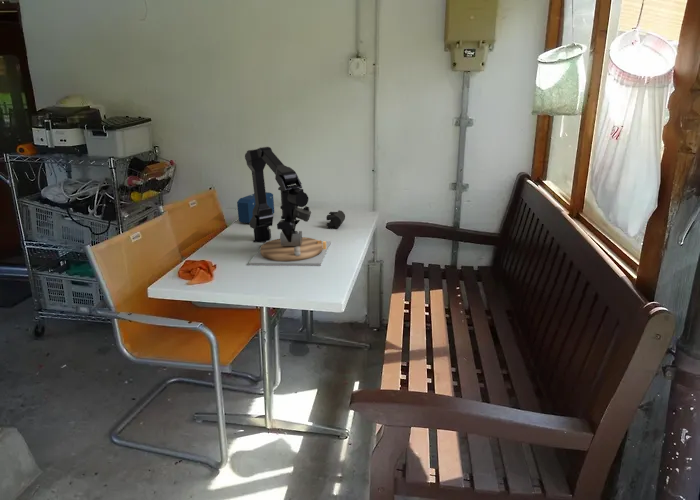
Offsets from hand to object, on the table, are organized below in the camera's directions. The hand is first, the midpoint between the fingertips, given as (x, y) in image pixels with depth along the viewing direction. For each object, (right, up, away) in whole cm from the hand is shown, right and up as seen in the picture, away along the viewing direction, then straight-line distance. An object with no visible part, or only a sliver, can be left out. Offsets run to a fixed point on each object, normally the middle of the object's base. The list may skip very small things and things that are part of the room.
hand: (291, 240), depth 219 cm
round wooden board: (0, -4, +1) cm, 5 cm away
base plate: (0, -5, +2) cm, 6 cm away
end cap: (+17, +7, +38) cm, 42 cm away
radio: (-23, +11, +55) cm, 61 cm away
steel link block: (0, -2, 0) cm, 2 cm away
